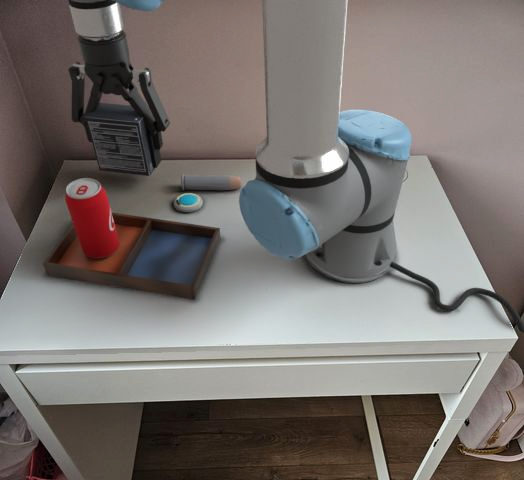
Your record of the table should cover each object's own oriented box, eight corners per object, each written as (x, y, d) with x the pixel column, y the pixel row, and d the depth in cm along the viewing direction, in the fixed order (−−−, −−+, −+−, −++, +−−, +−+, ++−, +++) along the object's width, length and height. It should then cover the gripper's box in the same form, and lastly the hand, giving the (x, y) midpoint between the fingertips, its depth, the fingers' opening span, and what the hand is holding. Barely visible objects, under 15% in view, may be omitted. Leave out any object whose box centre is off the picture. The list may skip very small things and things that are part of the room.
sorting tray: (220, 239, 91) (220, 227, 89) (195, 300, 81) (193, 288, 79) (86, 219, 94) (83, 208, 92) (47, 275, 85) (42, 264, 83)
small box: (162, 159, 101) (153, 105, 93) (150, 177, 97) (139, 122, 89) (111, 153, 103) (98, 100, 95) (98, 171, 99) (83, 116, 91)
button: (199, 193, 99) (198, 188, 98) (205, 209, 96) (204, 203, 95) (171, 198, 98) (170, 192, 97) (177, 214, 95) (176, 208, 94)
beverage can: (124, 238, 90) (109, 177, 81) (114, 262, 86) (97, 200, 77) (89, 236, 90) (70, 174, 81) (78, 260, 86) (56, 198, 77)
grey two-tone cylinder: (183, 177, 101) (183, 192, 101) (181, 171, 98) (181, 187, 98) (240, 177, 101) (240, 193, 101) (240, 172, 98) (240, 188, 98)
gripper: (177, 28, 83) (192, 157, 100) (45, 18, 86) (82, 144, 103) (161, 46, 78) (180, 178, 95) (22, 35, 81) (65, 164, 98)
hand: (129, 160), depth 99 cm, fingers closed on small box, 10 cm apart
